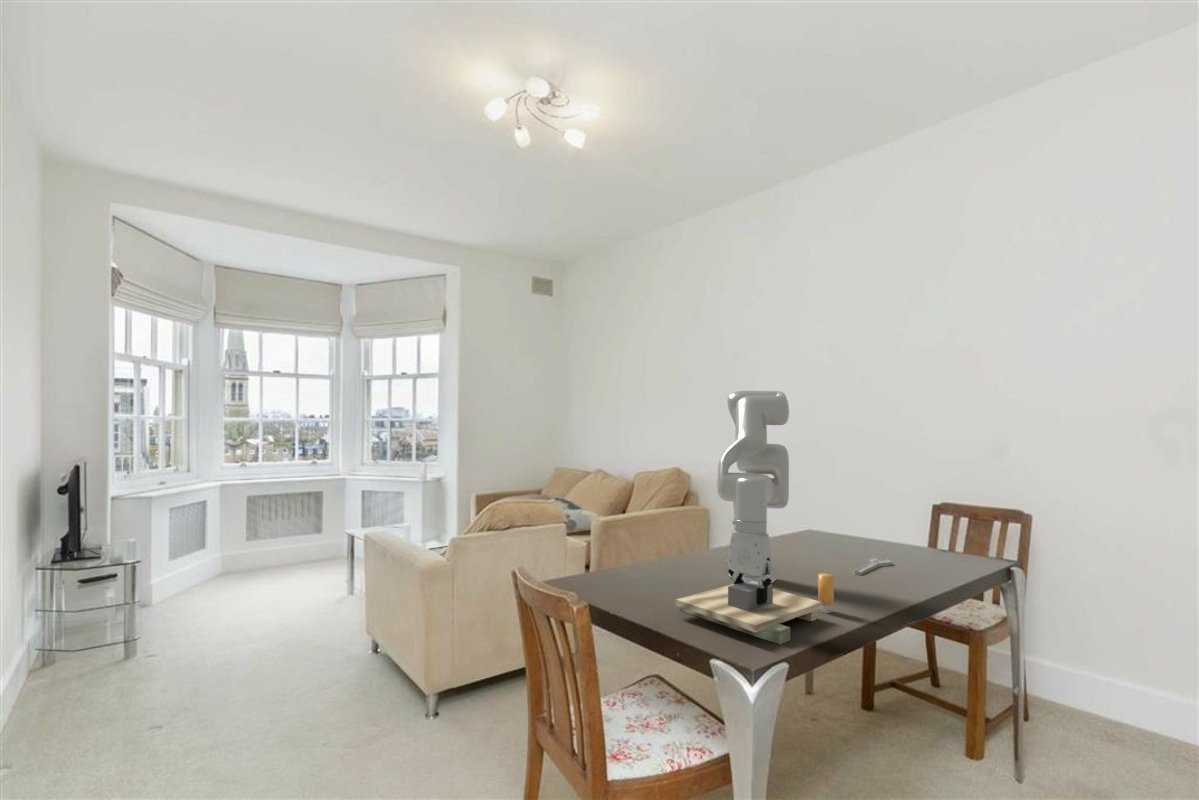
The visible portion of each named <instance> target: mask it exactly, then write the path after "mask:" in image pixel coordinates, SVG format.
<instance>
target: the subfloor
mask: <svg viewBox="0 0 1199 800" xmlns="http://www.w3.org/2000/svg"><path fill="white" fill-rule="evenodd" d="M744 582H745V581H744ZM731 585H734V583H732V584H729V585H728V584H727V585H724V586H720V587H717V588H712V589H709V590H706V591H701V592H699V593H698V592H697V593H694V594H692V595H691V594H690V595H687V596H683V597H679V598H676V599H675V607H679V611H681V612H683V613H687V614H688V615H691V616H695V617H698V618H701V619H704V620H707V621H708V622H709V621H710V622H712V623H715V624H718V625H721V626H725V627H727V628H730V629H732V630H735V631H739V632H741V633H744V634H748V635H751V636H752V637H757V638H759V639H762V640H765V641H767V640H768V642H770V641H771V642H770V643H773V642H774V644H776V643H777V645H779V644H780V646H781V645H783V643H784V644H786V643H788V642H787V641H789V642H790V641H791V627H790V626H787V625H784V624H782V623H785V622H788V621H791V620H794V619H795V618H796V617H797V618H796V619H800V620H803V619H804V620H803V621H806V620H807V622H810V621H812V622H814V620H815V621H817V620H818V617H819V616H818V612H819V611H818V610H821V608H822V602H820V601H818V599H817V600H816V599H814V598H813V599H812V598H810V597H809V598H808V597H805V596H801V595H796V594H794V593H790V592H786V591H784V590H783V591H782V590H779V589H775V588H773V603H772V604H769V605H766V606H762V607H759V608H756V609H753V610H750V611H746V610H743V609H740V608H737V607H733V606H730V605H728V586H731ZM816 619H817V620H816ZM785 642H786V643H785Z"/></svg>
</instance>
